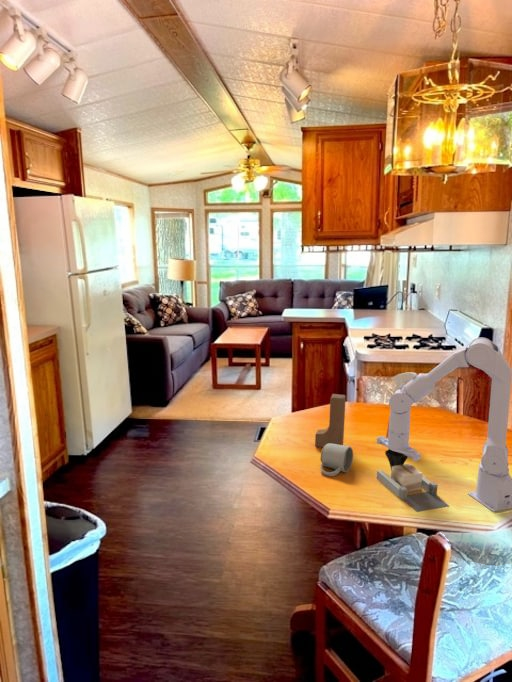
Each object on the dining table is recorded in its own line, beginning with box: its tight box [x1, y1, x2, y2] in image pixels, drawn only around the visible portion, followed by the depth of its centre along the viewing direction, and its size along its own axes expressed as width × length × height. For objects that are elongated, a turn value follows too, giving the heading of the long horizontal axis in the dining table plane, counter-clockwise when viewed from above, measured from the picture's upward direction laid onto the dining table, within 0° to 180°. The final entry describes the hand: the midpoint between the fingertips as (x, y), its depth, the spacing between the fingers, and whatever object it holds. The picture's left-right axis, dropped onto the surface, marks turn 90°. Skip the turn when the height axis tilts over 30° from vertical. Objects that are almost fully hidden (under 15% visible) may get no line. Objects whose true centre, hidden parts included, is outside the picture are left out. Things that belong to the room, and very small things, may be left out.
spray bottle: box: [385, 371, 418, 438], centre depth 162 cm, size 7×11×26 cm, turn 46°
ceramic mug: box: [320, 443, 354, 477], centre depth 145 cm, size 11×8×8 cm
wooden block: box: [314, 393, 347, 448], centre depth 162 cm, size 9×4×18 cm, turn 72°
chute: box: [376, 469, 438, 501], centre depth 136 cm, size 13×11×3 cm
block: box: [390, 463, 423, 493], centre depth 136 cm, size 6×6×5 cm
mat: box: [403, 491, 450, 513], centre depth 128 cm, size 8×10×1 cm
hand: (395, 474), depth 141 cm, fingers closed
